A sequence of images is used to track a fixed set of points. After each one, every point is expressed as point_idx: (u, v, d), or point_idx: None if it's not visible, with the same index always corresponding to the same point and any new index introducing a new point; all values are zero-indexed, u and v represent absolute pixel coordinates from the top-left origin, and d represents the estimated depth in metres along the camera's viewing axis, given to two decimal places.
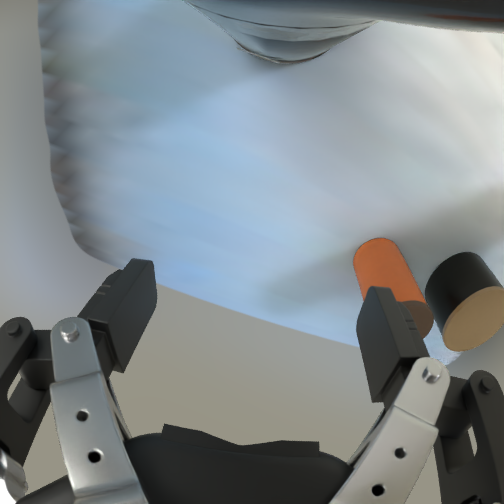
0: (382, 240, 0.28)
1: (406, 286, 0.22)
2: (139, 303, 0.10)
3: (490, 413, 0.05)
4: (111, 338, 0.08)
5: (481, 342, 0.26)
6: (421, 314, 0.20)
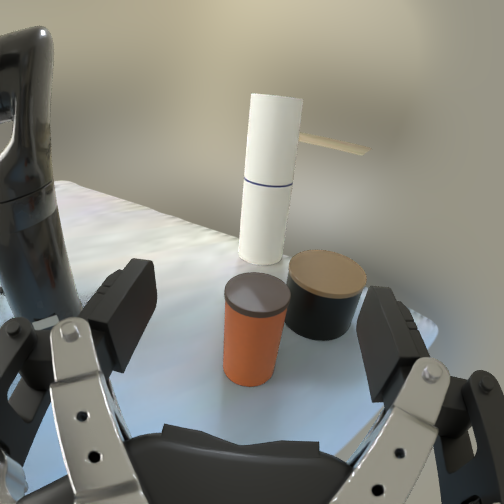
0: None
1: None
2: (139, 303, 0.10)
3: (490, 413, 0.05)
4: (111, 338, 0.08)
5: (360, 269, 0.34)
6: (246, 277, 0.26)
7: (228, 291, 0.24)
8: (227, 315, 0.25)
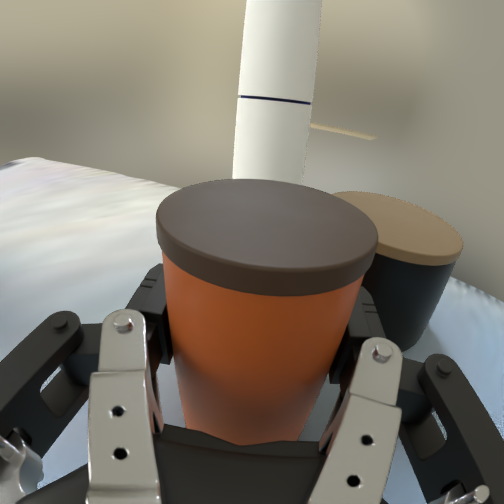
0: None
1: None
2: None
3: (454, 397, 0.06)
4: (163, 329, 0.08)
5: (442, 221, 0.17)
6: (233, 185, 0.09)
7: (169, 208, 0.07)
8: (167, 294, 0.07)
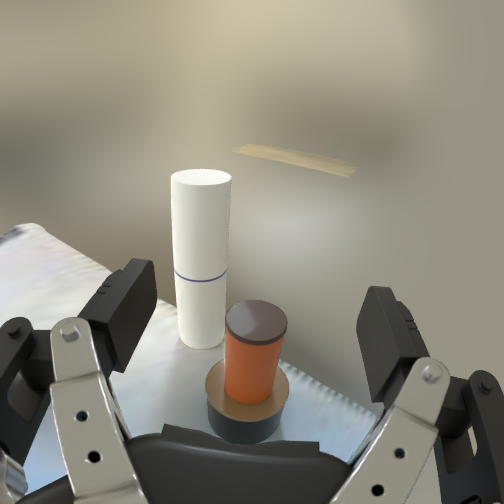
0: None
1: None
2: (139, 303, 0.10)
3: (490, 413, 0.05)
4: (111, 338, 0.08)
5: (284, 382, 0.31)
6: (245, 305, 0.27)
7: (229, 320, 0.25)
8: (228, 341, 0.26)
